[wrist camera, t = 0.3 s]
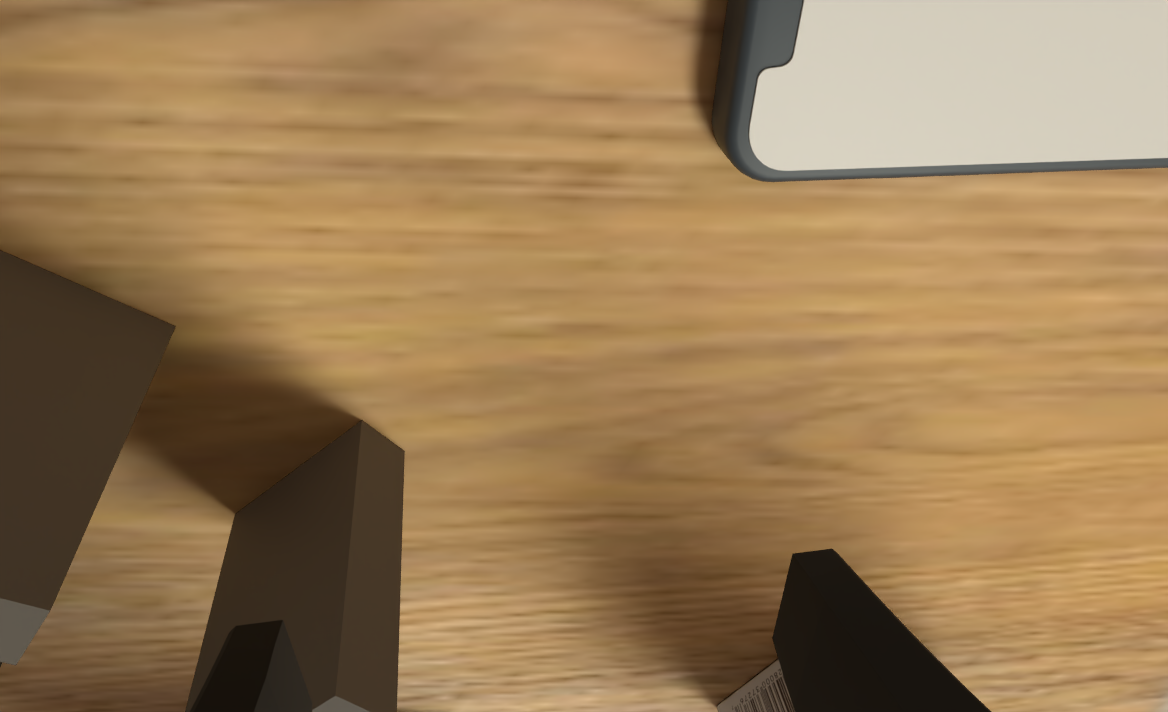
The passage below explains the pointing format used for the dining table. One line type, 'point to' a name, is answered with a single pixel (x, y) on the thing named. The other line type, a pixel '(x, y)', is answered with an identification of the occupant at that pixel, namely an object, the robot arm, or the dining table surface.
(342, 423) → the dining table surface
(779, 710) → the coffee box
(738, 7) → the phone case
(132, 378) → the domino
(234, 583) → the end domino
